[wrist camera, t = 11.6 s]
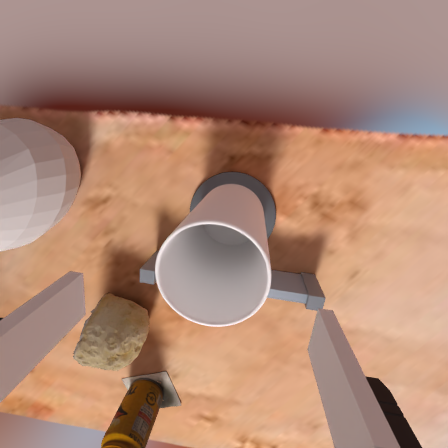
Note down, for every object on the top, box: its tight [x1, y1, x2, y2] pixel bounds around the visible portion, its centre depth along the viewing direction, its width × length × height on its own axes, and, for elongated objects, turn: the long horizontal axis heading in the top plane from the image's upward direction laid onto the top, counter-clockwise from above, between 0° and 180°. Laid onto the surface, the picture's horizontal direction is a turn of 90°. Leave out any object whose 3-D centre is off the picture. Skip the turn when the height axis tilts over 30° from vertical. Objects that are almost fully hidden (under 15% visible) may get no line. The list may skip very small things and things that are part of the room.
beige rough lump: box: [73, 293, 149, 371], centre depth 36 cm, size 10×10×10 cm
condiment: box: [101, 372, 181, 448], centre depth 39 cm, size 7×8×12 cm
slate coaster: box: [190, 172, 276, 239], centre depth 33 cm, size 11×11×1 cm
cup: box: [155, 184, 271, 327], centre depth 26 cm, size 8×8×16 cm
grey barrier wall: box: [140, 251, 325, 311], centre depth 33 cm, size 22×2×6 cm, turn 84°
